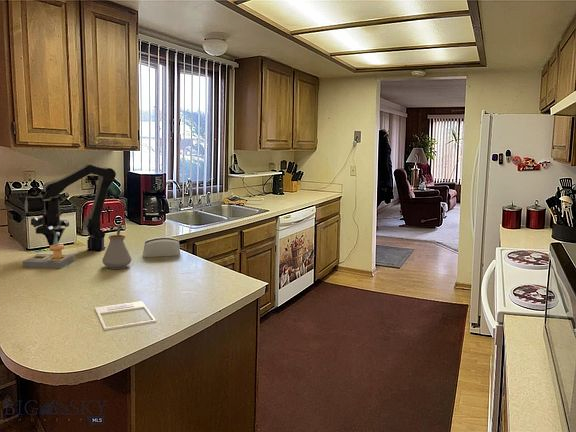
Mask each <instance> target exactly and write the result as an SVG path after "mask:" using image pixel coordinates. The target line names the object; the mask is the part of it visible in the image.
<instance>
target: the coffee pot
mask: <svg viewBox="0 0 576 432" xmlns="http://www.w3.org/2000/svg"><path fill="white" fill-rule="evenodd" d="M122 227H123V225H121V224H118V225H117V230H116V234H112V235H108V239H109V244H108V245H107V249H106V250H105V252H104V255H103V257H102V261H101V262H102V264H103V265H104V266H105V267H107V268H108V269H112V270H118V269H119V270H120V269H124V268H127V266H129V264H131V262H132V260H133V259H132V257H131V255H130V253H129V251H128V248H127V247H126V243H124V240H125V239H126V236H125V235H122V234H120V233H121V229H122Z"/></svg>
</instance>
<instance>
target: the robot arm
mask: <svg viewBox="0 0 576 432" xmlns="http://www.w3.org/2000/svg"><path fill="white" fill-rule="evenodd" d="M91 174H93V175H96V176H97V189H96V193H95V196H94V200H93V203H92V207H91V210H90V213H89V215H88V217H87V216H84V217H83V222H82V223H81V225H82V230H83V231H84V232H85V233H86V235H87V236H88V238H87V240H86V241H87V242H86V243H87V244H86V245H87V246H86V247H87V249H86V251H89V252H90V251H91V252H102V251H103V250H105V249H106V246H105V236H106V232H105V231H103V230H102V229H101V225H102V223H101V215H102V211H103V207H104V204H105V201H106V197H107V196H108V191H109V188H110V187H111V185H112V184H113V183H114V181H115V178H116V175H117V174H116V171H115V170H114V169H113V168H111V167H105V166H104V167H99V166H94V165H93V164H89V163H87V164H85V165H83V166H81V167H80V168H78V169H76V170H74V171H72V172H70V173H69V174H66V175H65V176H63V177H61V178H58V179H53V180H51V181H48V182H45V183H44V184H43V185H42V190H41V191H40V193H39V194H38V195H37V196H26V197H25V200H24V211H25V213H26V214H27V213H30V214H31V213H42V212H43V211H44V213H42V217H39V218H38V217H36V216H35V217H33V218H31V219H30V225H31V226H33V228H35V234H37V235H39V234H40V235H43V236H45V238H46V241H47V243H48V246H49V247H50V246H51V245H53V244H54V241H55V237H56V233H57V232H60V235H59V236H57V238H58V244H60V243H59V242H60V240H61V238H62V235H63V234H64V232H65V230H66V228H68V227H70V222H69V221H68V220H67V219H61V216H62V212H60V202H63V201H65V198H63V197H62V196H61V195H60V194H61V193H62V192H64V190H66V188H67V187H68V186H71V185H72V184H74V183H76V182H78V181H80V180H81V179H83V178H85V177H86V176H89V175H91ZM54 231H57V232H54Z"/></svg>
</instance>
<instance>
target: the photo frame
mask: <svg viewBox="0 0 576 432" xmlns="http://www.w3.org/2000/svg"><path fill="white" fill-rule="evenodd" d="M140 309H141V310H142V309H144V311H145V312H146V313H147V315H148V316H149V317H150V319H149V320H144V321H137V322H131V323H126V324H119V325H112V326H106V324H105V321H104V319H103V316H102V315H107V314H113V313H119V312H127V311H133V310H140ZM94 311H95V313H96V315H97V317H98V319H99V321H100V324H101V326H102V328H103V330H104V331H107V330H108V331H109V330H113V329H120V328H121V329H122V328H126V327H132V326H138V325H145V324H151V323H156V322H157V319H156V318H155V316H154V315H153V314H152V313H151V310H150V309H148V307H147V306H146V304H145V303H144V302H143V300H140V301H133V302H126V303H117V304H112V305H104V306H96V307H94Z"/></svg>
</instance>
